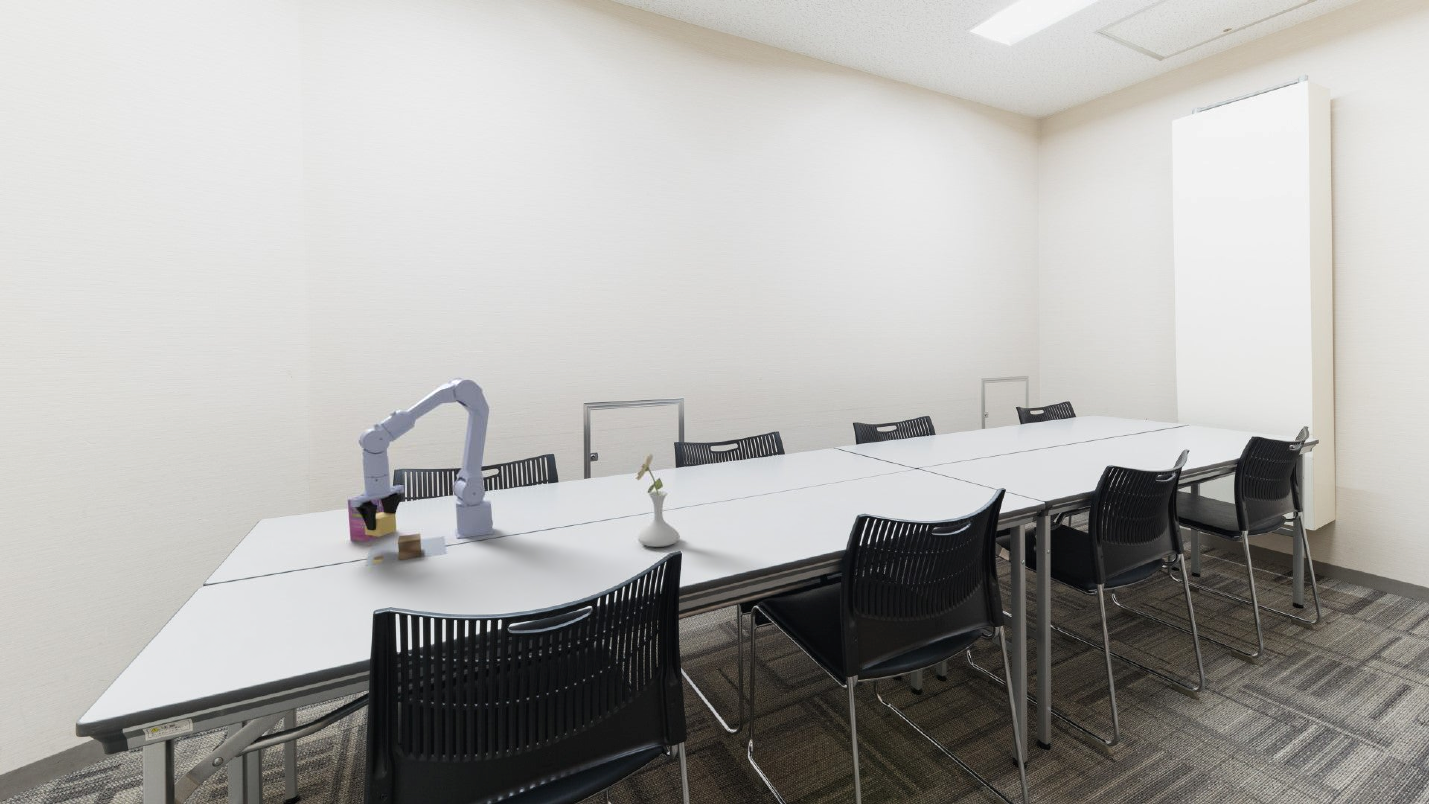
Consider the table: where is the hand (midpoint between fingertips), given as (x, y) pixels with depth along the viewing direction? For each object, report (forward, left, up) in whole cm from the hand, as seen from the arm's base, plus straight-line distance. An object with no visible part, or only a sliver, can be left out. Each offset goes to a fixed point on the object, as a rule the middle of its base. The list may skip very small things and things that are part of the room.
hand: (380, 526), depth 154 cm
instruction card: (-6, +3, -7) cm, 9 cm away
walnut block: (-7, +7, -7) cm, 12 cm away
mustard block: (0, 0, -2) cm, 2 cm away
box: (+3, -16, -7) cm, 18 cm away
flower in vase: (-66, +28, -7) cm, 72 cm away
